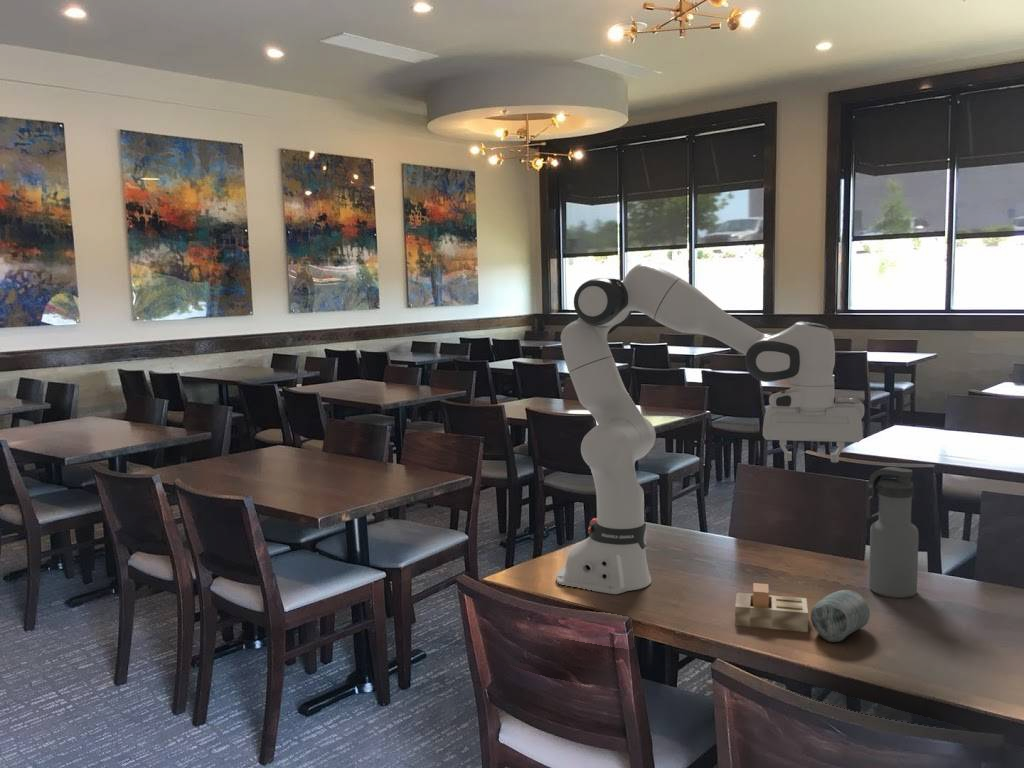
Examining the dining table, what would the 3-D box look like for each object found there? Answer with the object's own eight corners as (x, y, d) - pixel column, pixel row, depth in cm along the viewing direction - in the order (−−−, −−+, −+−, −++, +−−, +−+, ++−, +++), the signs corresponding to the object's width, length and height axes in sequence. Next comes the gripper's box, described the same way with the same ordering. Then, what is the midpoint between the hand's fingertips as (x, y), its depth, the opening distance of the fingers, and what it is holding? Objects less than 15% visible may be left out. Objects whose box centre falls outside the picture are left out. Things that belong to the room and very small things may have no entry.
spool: (848, 638, 150) (834, 584, 154) (805, 646, 157) (793, 594, 161) (888, 637, 158) (874, 585, 162) (846, 644, 165) (833, 595, 169)
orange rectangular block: (752, 624, 165) (753, 591, 165) (753, 615, 170) (753, 583, 169) (768, 625, 164) (768, 592, 164) (767, 616, 169) (768, 584, 168)
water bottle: (859, 590, 182) (861, 468, 179) (879, 579, 189) (882, 462, 186) (904, 602, 175) (908, 476, 172) (924, 591, 181) (928, 468, 178)
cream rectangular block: (735, 625, 165) (735, 605, 165) (736, 610, 173) (736, 591, 172) (807, 632, 161) (808, 611, 160) (806, 616, 168) (806, 596, 168)
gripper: (863, 396, 173) (861, 459, 174) (763, 395, 179) (762, 456, 180) (866, 400, 167) (865, 465, 168) (762, 398, 173) (762, 462, 174)
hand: (811, 461), depth 174 cm, fingers open, 8 cm apart
